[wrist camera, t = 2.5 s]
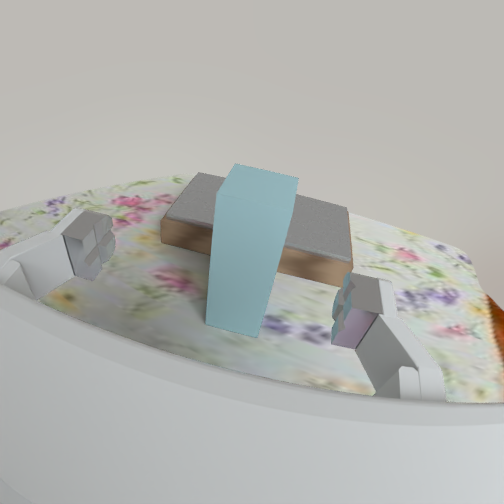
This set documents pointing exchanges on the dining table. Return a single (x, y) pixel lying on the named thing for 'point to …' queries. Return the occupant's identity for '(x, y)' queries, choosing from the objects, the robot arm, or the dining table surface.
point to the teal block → (247, 246)
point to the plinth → (297, 240)
